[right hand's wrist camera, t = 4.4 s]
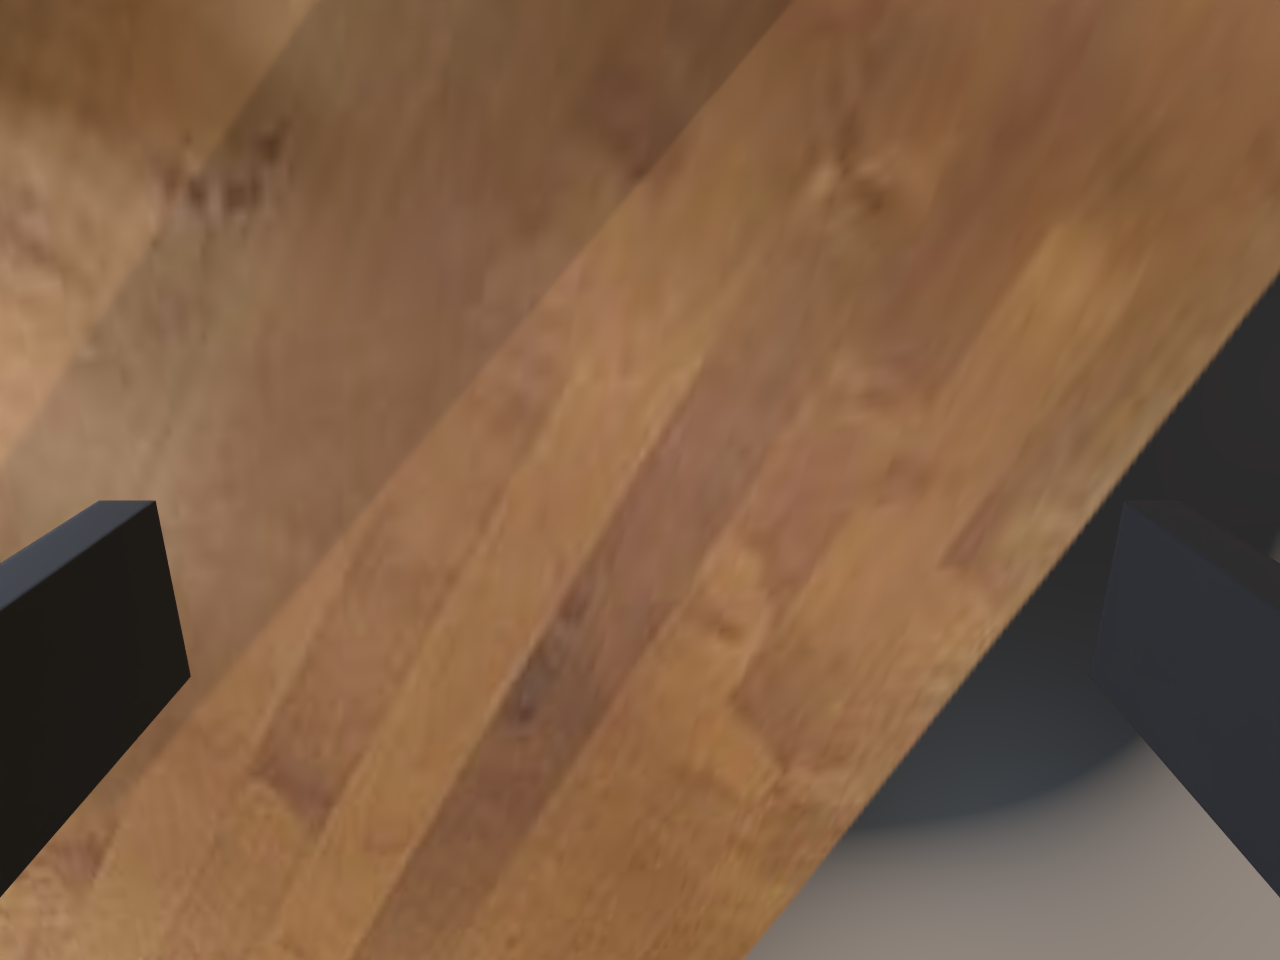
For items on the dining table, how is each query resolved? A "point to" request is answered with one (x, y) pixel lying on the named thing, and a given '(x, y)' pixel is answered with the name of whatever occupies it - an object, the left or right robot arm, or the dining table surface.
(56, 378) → the dining table surface
